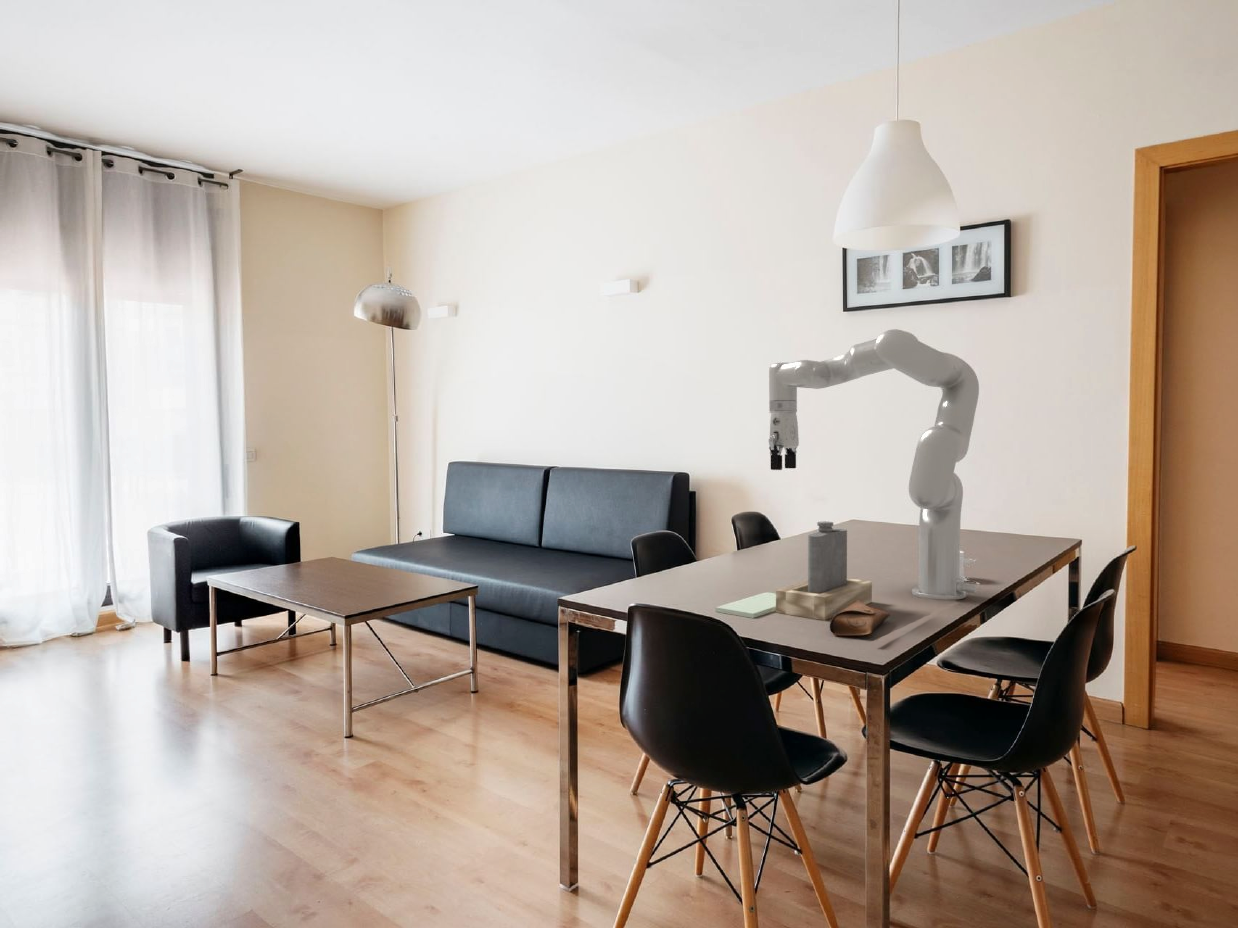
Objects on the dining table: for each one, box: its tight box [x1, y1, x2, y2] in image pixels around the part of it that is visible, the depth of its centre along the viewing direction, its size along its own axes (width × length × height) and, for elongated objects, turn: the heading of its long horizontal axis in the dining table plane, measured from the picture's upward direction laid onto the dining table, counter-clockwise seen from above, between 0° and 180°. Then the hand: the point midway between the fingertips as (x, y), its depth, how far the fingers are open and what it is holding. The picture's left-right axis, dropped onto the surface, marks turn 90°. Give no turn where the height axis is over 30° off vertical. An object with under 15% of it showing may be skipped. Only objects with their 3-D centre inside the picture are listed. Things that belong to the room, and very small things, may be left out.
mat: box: [714, 591, 776, 619], centre depth 190 cm, size 10×22×1 cm, turn 139°
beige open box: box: [775, 577, 873, 621], centre depth 188 cm, size 12×24×5 cm, turn 139°
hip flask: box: [807, 520, 848, 594], centre depth 188 cm, size 16×4×20 cm, turn 140°
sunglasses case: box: [829, 600, 891, 637], centre depth 168 cm, size 18×7×7 cm
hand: (783, 469), depth 226 cm, fingers open, 9 cm apart
